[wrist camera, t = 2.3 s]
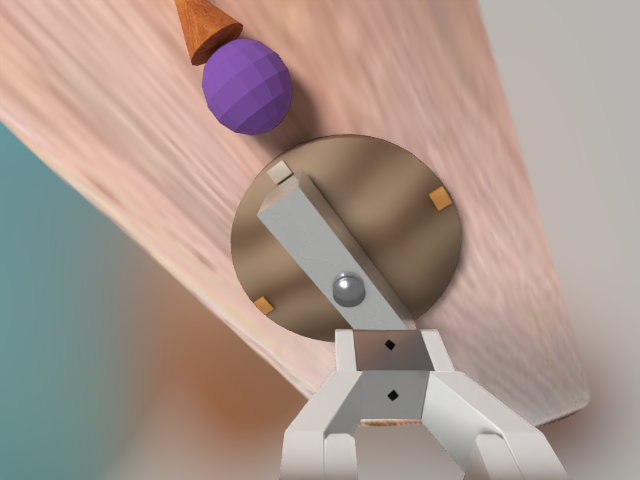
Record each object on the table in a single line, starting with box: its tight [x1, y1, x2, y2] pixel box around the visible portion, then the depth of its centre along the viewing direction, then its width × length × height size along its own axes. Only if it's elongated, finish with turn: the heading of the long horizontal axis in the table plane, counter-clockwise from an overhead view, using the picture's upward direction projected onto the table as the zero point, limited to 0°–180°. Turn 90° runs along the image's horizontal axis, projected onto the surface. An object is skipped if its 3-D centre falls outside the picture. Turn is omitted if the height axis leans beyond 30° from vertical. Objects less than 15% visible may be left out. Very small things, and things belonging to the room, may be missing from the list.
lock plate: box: [231, 134, 461, 342], centre depth 31 cm, size 20×20×3 cm
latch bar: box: [257, 169, 417, 330], centre depth 27 cm, size 17×4×5 cm, turn 36°
